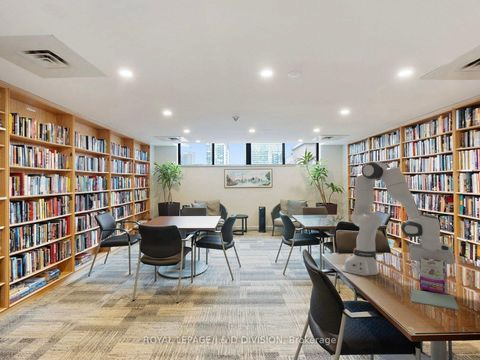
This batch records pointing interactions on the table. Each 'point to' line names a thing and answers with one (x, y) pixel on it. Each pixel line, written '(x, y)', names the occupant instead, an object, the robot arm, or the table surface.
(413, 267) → the white figurine
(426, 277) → the candy bar box
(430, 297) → the desk pad
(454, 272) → the table surface
